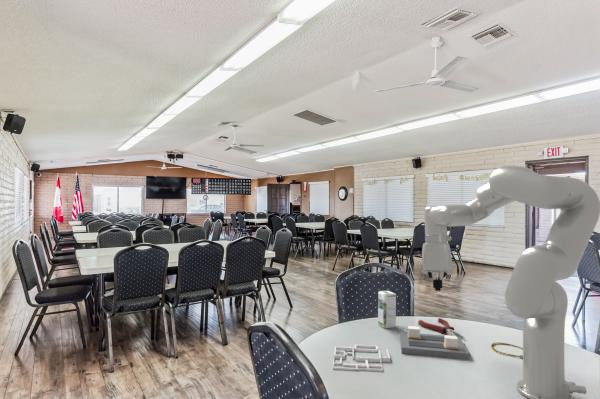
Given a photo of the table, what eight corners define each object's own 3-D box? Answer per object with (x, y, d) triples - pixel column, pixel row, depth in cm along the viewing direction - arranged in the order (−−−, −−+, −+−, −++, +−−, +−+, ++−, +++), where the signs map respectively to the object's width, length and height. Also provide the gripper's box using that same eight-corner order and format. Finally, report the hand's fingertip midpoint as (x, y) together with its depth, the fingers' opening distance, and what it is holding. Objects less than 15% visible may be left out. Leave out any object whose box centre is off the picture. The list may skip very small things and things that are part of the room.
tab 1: (418, 334, 137) (418, 326, 137) (419, 337, 134) (419, 329, 134) (408, 333, 138) (408, 326, 138) (408, 336, 135) (408, 328, 135)
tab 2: (456, 344, 127) (456, 336, 128) (457, 347, 125) (457, 339, 125) (444, 343, 128) (444, 335, 128) (445, 346, 125) (445, 338, 126)
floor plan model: (384, 343, 136) (384, 338, 136) (393, 374, 111) (393, 368, 112) (334, 341, 139) (334, 336, 139) (333, 371, 114) (333, 364, 114)
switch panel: (459, 342, 136) (459, 335, 136) (469, 359, 121) (469, 352, 121) (399, 336, 142) (399, 331, 142) (401, 353, 126) (401, 346, 126)
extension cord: (515, 364, 118) (515, 358, 118) (483, 346, 134) (483, 340, 134) (547, 362, 120) (547, 356, 120) (512, 344, 136) (512, 339, 136)
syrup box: (377, 324, 156) (377, 291, 157) (389, 323, 158) (389, 290, 158) (384, 328, 151) (384, 294, 151) (396, 327, 153) (396, 293, 153)
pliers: (447, 343, 136) (447, 335, 137) (416, 325, 157) (416, 319, 157) (474, 340, 139) (474, 333, 139) (440, 323, 160) (440, 317, 160)
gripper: (456, 239, 133) (457, 289, 133) (414, 239, 137) (415, 287, 136) (459, 240, 126) (461, 293, 125) (415, 240, 130) (417, 291, 129)
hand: (437, 290), depth 131 cm, fingers closed
